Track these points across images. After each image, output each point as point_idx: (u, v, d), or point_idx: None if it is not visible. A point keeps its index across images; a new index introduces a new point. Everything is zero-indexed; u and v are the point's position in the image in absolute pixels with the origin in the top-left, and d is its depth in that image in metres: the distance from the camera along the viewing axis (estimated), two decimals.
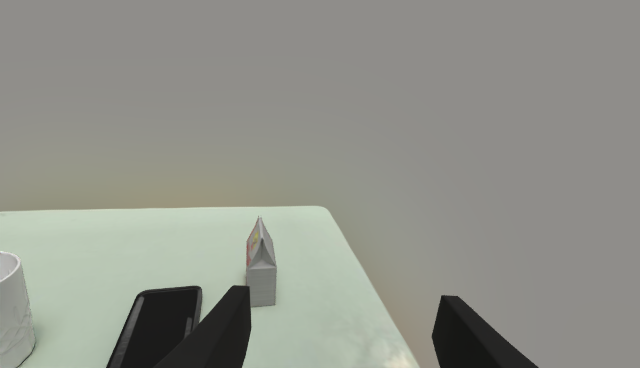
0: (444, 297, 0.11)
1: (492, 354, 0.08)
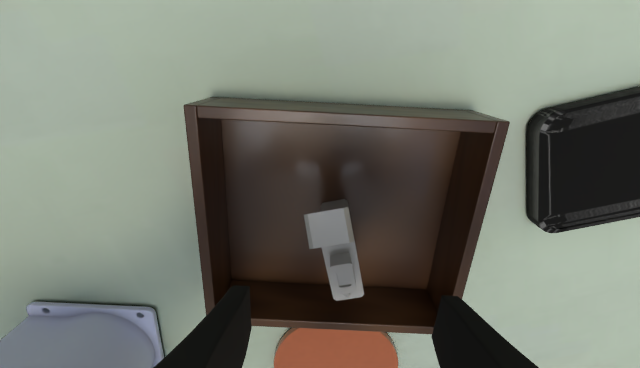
0: (444, 297, 0.11)
1: (492, 354, 0.08)
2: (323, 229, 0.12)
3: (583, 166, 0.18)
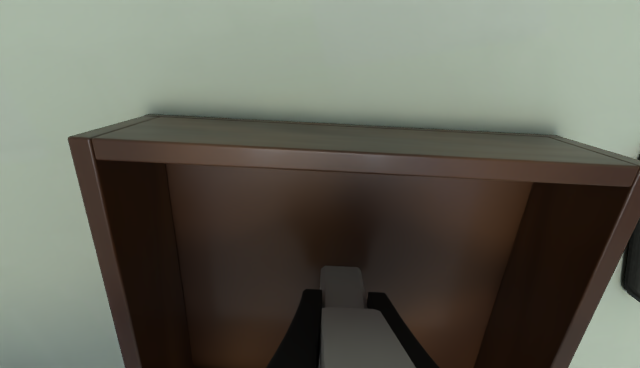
0: (369, 294, 0.11)
1: None
2: None
3: None
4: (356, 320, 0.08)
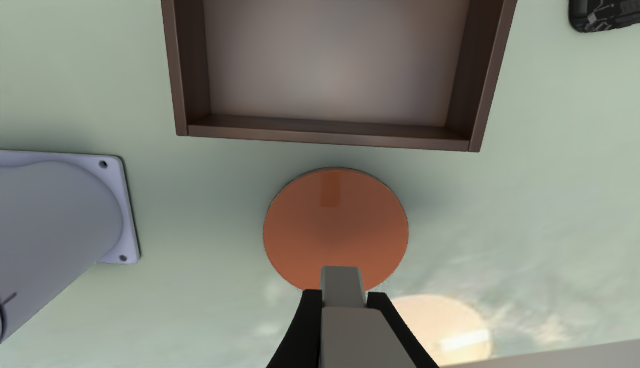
0: (369, 294, 0.11)
1: None
2: None
3: None
4: (356, 319, 0.08)
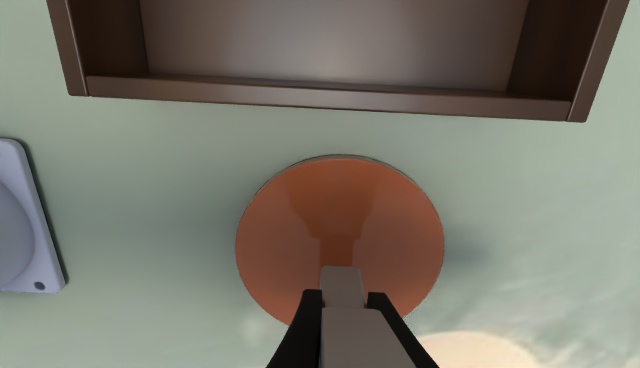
0: (369, 293, 0.11)
1: None
2: None
3: None
4: (357, 320, 0.08)
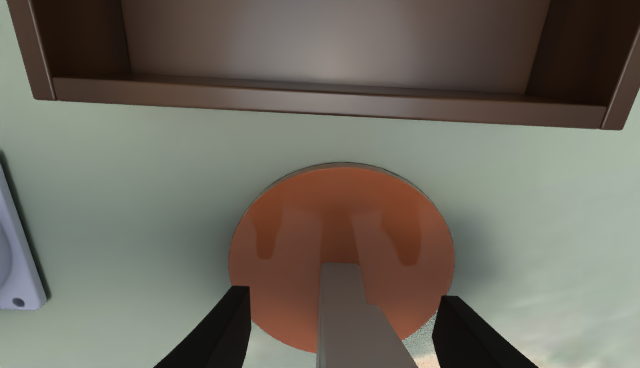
0: (443, 297, 0.11)
1: (492, 354, 0.08)
2: None
3: None
4: (356, 314, 0.08)
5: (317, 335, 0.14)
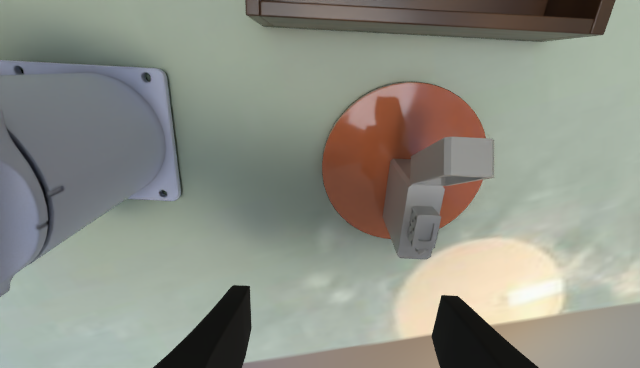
0: (444, 297, 0.11)
1: (492, 354, 0.08)
2: (465, 156, 0.10)
3: None
4: None
5: (387, 213, 0.19)
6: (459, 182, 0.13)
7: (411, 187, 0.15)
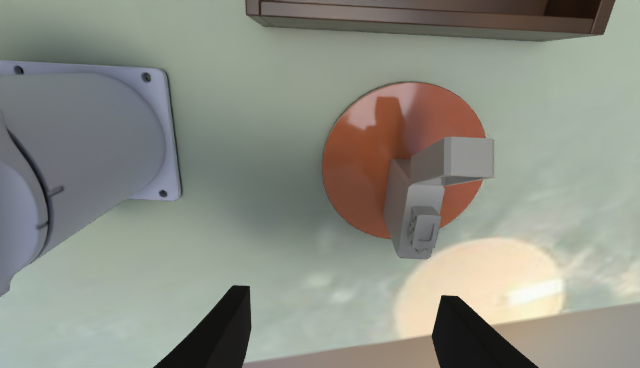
0: (444, 297, 0.11)
1: (492, 354, 0.08)
2: (465, 156, 0.10)
3: None
4: None
5: (387, 213, 0.19)
6: (459, 182, 0.13)
7: (411, 187, 0.15)
